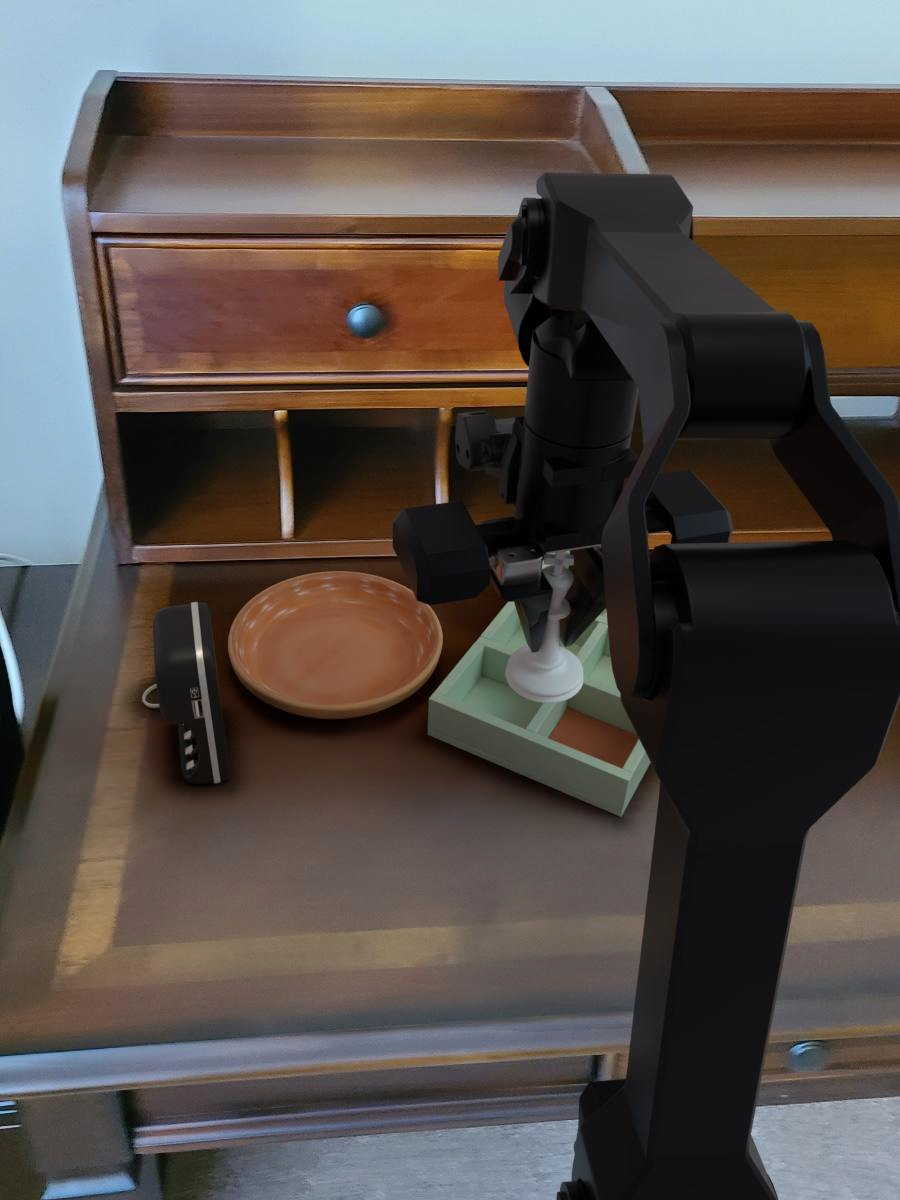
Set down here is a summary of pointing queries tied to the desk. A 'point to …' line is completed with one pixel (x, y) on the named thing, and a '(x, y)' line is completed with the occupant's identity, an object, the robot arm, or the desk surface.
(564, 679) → the chess piece
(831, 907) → the desk surface
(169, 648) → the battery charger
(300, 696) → the saucer
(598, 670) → the compartment tray
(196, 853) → the desk surface
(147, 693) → the ring
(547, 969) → the desk surface
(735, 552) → the robot arm
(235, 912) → the desk surface
